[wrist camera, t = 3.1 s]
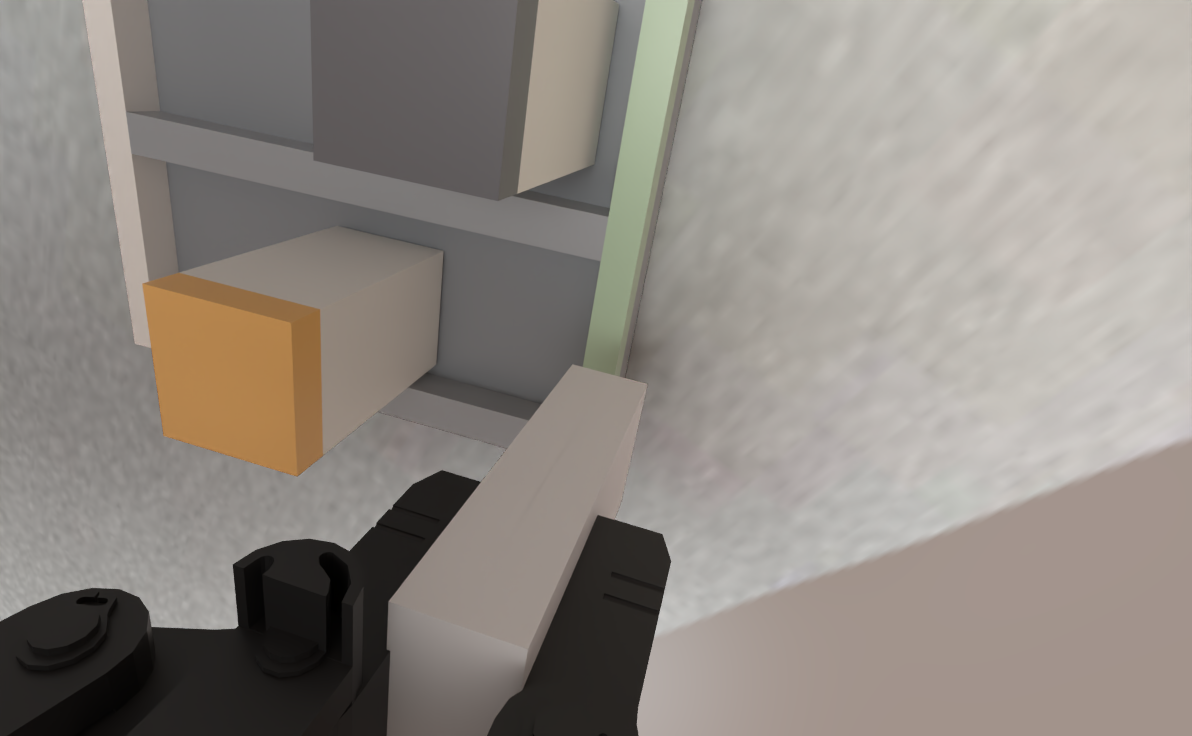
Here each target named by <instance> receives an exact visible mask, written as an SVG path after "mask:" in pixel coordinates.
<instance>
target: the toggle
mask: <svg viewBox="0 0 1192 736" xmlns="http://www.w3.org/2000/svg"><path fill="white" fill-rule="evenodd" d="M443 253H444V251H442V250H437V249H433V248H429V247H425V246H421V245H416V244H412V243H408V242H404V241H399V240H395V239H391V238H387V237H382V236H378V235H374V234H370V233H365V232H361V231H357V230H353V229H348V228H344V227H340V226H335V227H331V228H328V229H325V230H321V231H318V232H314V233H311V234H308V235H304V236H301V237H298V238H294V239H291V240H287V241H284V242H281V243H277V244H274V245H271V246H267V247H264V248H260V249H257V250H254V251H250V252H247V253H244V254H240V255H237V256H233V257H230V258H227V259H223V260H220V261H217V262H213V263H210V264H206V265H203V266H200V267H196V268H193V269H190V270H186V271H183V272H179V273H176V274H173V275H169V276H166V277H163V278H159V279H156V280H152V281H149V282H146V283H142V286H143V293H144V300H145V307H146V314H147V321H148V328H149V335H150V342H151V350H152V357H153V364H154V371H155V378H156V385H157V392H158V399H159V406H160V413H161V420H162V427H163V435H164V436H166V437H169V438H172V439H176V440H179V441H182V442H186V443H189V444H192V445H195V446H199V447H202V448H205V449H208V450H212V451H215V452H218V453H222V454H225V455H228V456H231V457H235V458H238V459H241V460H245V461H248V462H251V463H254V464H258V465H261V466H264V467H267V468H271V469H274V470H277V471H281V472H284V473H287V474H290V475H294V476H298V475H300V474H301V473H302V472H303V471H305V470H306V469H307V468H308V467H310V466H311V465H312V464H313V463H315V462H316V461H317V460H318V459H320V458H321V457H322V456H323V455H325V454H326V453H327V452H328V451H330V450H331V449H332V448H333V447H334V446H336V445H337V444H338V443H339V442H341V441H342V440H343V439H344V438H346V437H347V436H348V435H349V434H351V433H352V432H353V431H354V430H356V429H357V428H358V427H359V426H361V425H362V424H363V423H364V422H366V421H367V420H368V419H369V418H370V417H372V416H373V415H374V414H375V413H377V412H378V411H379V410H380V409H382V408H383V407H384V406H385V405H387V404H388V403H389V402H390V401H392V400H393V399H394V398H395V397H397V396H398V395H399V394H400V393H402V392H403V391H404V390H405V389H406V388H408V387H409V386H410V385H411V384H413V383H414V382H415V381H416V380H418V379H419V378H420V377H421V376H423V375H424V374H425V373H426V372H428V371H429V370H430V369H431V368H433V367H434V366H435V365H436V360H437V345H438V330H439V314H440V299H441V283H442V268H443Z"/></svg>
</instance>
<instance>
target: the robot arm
mask: <svg viewBox="0 0 1192 736" xmlns="http://www.w3.org/2000/svg"><path fill="white" fill-rule="evenodd" d="M647 385H648V384H646V383H642V382H638V381H634V380H630V379H627V378H623V377H619V376H615V375H611V374H608V373H604V372H600V371H596V370H592V369H589V368H585V367H581V366H577V365H573V364H572V366H571V367H570V368H569V369H568V371H567V372H566V373H565V375H564V376H563V377H562V378H561V380H560V381H559V382H558V384H557V385H556V386H555V387H554V389H553V390H552V391H551V393H550V394H549V395H548V397H547V398H546V399H545V400H544V402H543V403H542V404H541V406H540V407H539V408H538V409H537V411H536V412H535V413H534V415H533V416H532V417H531V418H530V420H529V421H528V422H527V424H526V425H525V426H524V427H523V429H522V430H521V431H520V433H519V434H518V435H517V437H516V438H515V439H514V440H513V442H512V443H511V444H510V446H509V447H508V448H507V449H506V451H505V452H504V453H503V455H502V456H501V457H500V458H499V460H498V461H497V462H496V464H495V465H494V466H493V467H492V469H491V470H490V471H489V473H488V474H487V475H486V477H485V478H484V479H483V480H482V482H479V481H476V480H473V479H469V478H466V477H463V476H459V475H456V474H453V473H449V472H446V471H443V470H442V471H439V472H437V473H435V474H433V475H431V476H429V477H427V478H425V479H423V480H421V481H419V482H417V483H415V484H413V485H412V486H411V487H410V488H409V489H408V490H407V491H406V492H405V493H404V494H403V495H402V496H401V497H400V499H399V500H398V501H397V502H396V503H395V504H394V505H393V508H392V510H390V509H389V510H388V511H387V512H386V513H385V514H384V515H383V516H382V517H381V519H380V520H379V521H378V522H377V524H376V526H375V528H374V527H372V528H371V529H370V530H369V531H368V532H367V533H366V534H365V535H364V536H363V538H362V539H361V540H360V541H359V542H358V543H357V544H356V545H355V546H354V547H353V548H352V549H351V550H350V551H348V550H346V549H344V548H342V547H340V546H339V545H337V544H335V543H331V542H325V541H319V540H313V539H303V540H291V541H282V542H279V543H276V544H273V545H270V546H267V547H264V548H261V549H258V550H255V551H254V552H252V553H250V554H249V555H247V556H246V557H244V558H242V559H241V560H239V561H238V562H236V563H235V564H233V571H234V582H235V593H236V604H237V614H238V625H239V626H238V627H237V628H236V629H221V630H207V629H183V628H160V627H151V622H150V616H149V611H148V610H147V608H146V607H145V605H144V604H143V603H142V601H141V600H140V598H139V597H137V596H134V595H132V594H130V593H127V592H125V591H122V590H120V589H102V588H91V589H85V590H80V591H74V592H69V593H64V594H60V595H58V596H55V597H53V598H50V599H48V600H45V601H42V602H40V603H37V604H35V605H32V606H30V607H28V608H26V609H24V610H22V611H20V612H18V613H16V614H14V615H12V616H10V617H8V618H6V619H4V620H2V621H0V736H638V730H637V713H638V704H639V701H640V696H641V691H642V687H643V683H644V678H645V674H646V669H647V665H648V660H649V656H650V652H651V647H652V643H653V639H654V634H655V630H656V625H657V621H658V616H659V612H660V608H661V603H662V599H663V594H664V590H665V586H666V581H667V577H668V572H669V568H670V563H671V560H670V556H669V553H668V550H667V547H666V544H665V541H664V538H663V535H662V534H660V533H656V532H653V531H650V530H646V529H643V528H640V527H636V526H633V525H630V524H627V523H623V522H620V521H617V520H615V517H616V515H617V512H618V509H619V507H620V504H621V502H622V498H623V493H624V489H625V484H626V480H627V475H628V471H629V466H630V462H631V457H632V453H633V448H634V444H635V439H636V435H637V430H638V426H639V421H640V417H641V412H642V408H643V403H644V399H645V394H646V390H647Z"/></svg>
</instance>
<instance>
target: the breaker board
mask: <svg viewBox="0 0 1192 736" xmlns="http://www.w3.org/2000/svg"><path fill="white" fill-rule="evenodd" d="M82 1H83V7H84V14H85V20H86V27H87V34H88V40H89V47H90V53H91V60H92V66H93V73H94V79H95V86H96V93H97V99H98V106H99V112H100V119H101V125H102V132H103V138H104V145H105V152H106V158H107V165H108V171H109V178H110V184H111V191H112V197H113V204H114V211H115V217H116V224H117V230H118V237H119V243H120V250H121V256H122V263H123V270H124V276H125V283H126V289H127V296H128V302H129V309H130V316H131V322H132V329H133V335H134V342H135V344H138V345H142V346H145V347H149V348H151V342H150V335H149V328H148V321H147V314H146V307H145V300H144V293H143V286H142V283H146V282H149V281H152V280H156V279H159V278H163V277H166V276H169V275H173V274H176V273H179V272H183V271H186V270H190V269H193V268H196V267H200V266H203V265H206V264H210V263H213V262H217V261H220V260H223V259H227V258H230V257H233V256H237V255H240V254H244V253H247V252H250V251H254V250H257V249H260V248H264V247H267V246H271V245H274V244H277V243H281V242H284V241H287V240H291V239H294V238H298V237H301V236H304V235H308V234H311V233H314V232H318V231H321V230H325V229H328V228H331V227H335V226H340V227H344V228H348V229H353V230H357V231H361V232H365V233H370V234H374V235H378V236H382V237H387V238H391V239H395V240H399V241H404V242H408V243H412V244H416V245H421V246H425V247H429V248H433V249H437V250H442V251H444V253H443V268H442V283H441V299H440V314H439V330H438V345H437V360H436V365H435V366H434V367H433V368H431V369H430V370H429V371H428V372H426V373H425V374H424V375H423V376H421V377H420V378H419V379H418V380H416V381H415V382H414V383H413V384H411V385H410V386H409V387H408V388H406V389H405V390H404V391H403V392H402V393H400V394H399V395H398V396H397V397H395V398H394V399H393V400H392V401H390V402H389V403H388V404H387V405H385V406H384V407H383V408H382V409H380V410H379V411H378V412H379V413H383V414H386V415H390V416H393V417H397V418H401V419H404V420H408V421H411V422H415V423H418V424H422V425H425V426H429V427H432V428H436V429H440V430H443V431H447V432H450V433H454V434H457V435H461V436H464V437H468V438H471V439H475V440H479V441H482V442H486V443H489V444H493V445H496V446H500V447H503V448H508V447H509V446H510V444H511V443H512V442H513V440H514V439H515V438H516V437H517V435H518V434H519V433H520V431H521V430H522V429H523V427H524V426H525V425H526V424H527V422H528V421H529V420H530V418H531V417H532V416H533V415H534V413H535V412H536V411H537V409H538V408H539V407H540V406H541V404H542V403H543V402H544V400H545V399H546V398H547V397H548V395H549V394H550V393H551V391H552V390H553V389H554V387H555V386H556V385H557V384H558V382H559V381H560V380H561V378H562V377H563V376H564V375H565V373H566V372H567V371H568V369H569V368H570V367H571V366H572V364H573V365H577V366H581V367H585V368H589V369H592V370H596V371H600V372H604V373H608V374H611V375H615V376H619V377H623V378H625V374H626V370H627V365H628V360H629V355H630V350H631V345H632V340H633V335H634V330H635V326H636V321H637V316H638V311H639V306H640V301H641V296H642V291H643V286H644V282H645V277H646V272H647V267H648V262H649V257H650V252H651V247H652V242H653V238H654V233H655V228H656V223H657V218H658V213H659V208H660V203H661V198H662V193H663V189H664V184H665V179H666V174H667V169H668V164H669V159H670V154H671V149H672V145H673V140H674V135H675V130H676V125H677V120H678V115H679V110H680V105H681V101H682V96H683V91H684V86H685V81H686V76H687V71H688V66H689V61H690V57H691V52H692V47H693V42H694V37H695V32H696V27H697V22H698V17H699V12H700V8H701V3H702V0H614V1H615V2H617V3H618V4H619V10H618V17H617V23H616V29H615V36H614V42H613V48H612V55H611V61H610V67H609V74H608V80H607V86H606V93H605V99H604V106H603V112H602V118H601V125H600V131H599V137H598V144H597V150H596V156H595V163H594V165H591V166H589V167H586V168H584V169H581V170H578V171H576V172H573V173H570V174H568V175H565V176H563V177H560V178H557V179H555V180H552V181H550V182H547V183H544V184H542V185H539V186H536V187H534V188H531V189H529V190H526V191H523V192H521V193H518V194H516V195H513V196H510V197H508V198H505V199H502V200H500V201H495V200H490V199H486V198H481V197H477V196H472V195H468V194H463V193H459V192H454V191H449V190H445V189H440V188H436V187H431V186H427V185H422V184H418V183H413V182H409V181H404V180H400V179H395V178H390V177H386V176H381V175H377V174H372V173H368V172H363V171H359V170H354V169H350V168H345V167H340V166H336V165H331V164H327V163H322V162H318V161H313V115H312V68H311V21H310V0H82Z"/></svg>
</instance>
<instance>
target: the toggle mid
mask: <svg viewBox="0 0 1192 736" xmlns="http://www.w3.org/2000/svg"><path fill="white" fill-rule="evenodd" d="M618 10H619V4H618V3H617V2H615V1H614V0H310V21H311V68H312V115H313V161H318V162H322V163H327V164H331V165H336V166H340V167H345V168H350V169H354V170H359V171H363V172H368V173H372V174H377V175H381V176H386V177H390V178H395V179H400V180H404V181H409V182H413V183H418V184H422V185H427V186H431V187H436V188H440V189H445V190H449V191H454V192H459V193H463V194H468V195H472V196H477V197H481V198H486V199H490V200H495V201H500V200H502V199H505V198H508V197H510V196H513V195H516V194H518V193H521V192H523V191H526V190H529V189H531V188H534V187H536V186H539V185H542V184H544V183H547V182H550V181H552V180H555V179H557V178H560V177H563V176H565V175H568V174H570V173H573V172H576V171H578V170H581V169H584V168H586V167H589V166H591V165H594V163H595V156H596V150H597V144H598V137H599V131H600V125H601V118H602V112H603V106H604V99H605V93H606V86H607V80H608V74H609V67H610V61H611V55H612V48H613V42H614V36H615V29H616V23H617V17H618Z"/></svg>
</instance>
